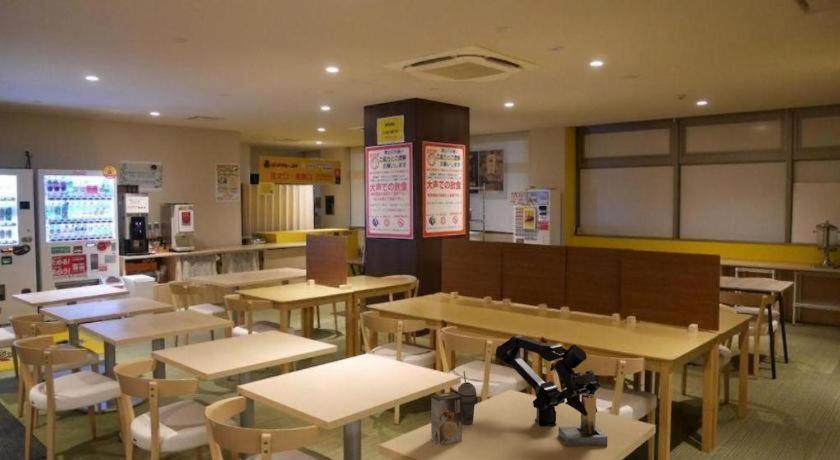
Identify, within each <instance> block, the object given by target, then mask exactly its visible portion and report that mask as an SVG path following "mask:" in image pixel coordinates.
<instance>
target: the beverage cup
mask: <svg viewBox="0 0 840 460" xmlns="http://www.w3.org/2000/svg"><path fill="white" fill-rule="evenodd" d="M462 373H463V381H464V382H463V383H461V384H460V385H459V387H458V390H457V394H458V395H460V396H462V426H465V427H466V426H467V427H468V426H472V425H473V422H474V417H475V407H476V406H475V405H476V403H475V402H476V399H477V398H476V397H477V394H478V393H477V390H476V387H475V385H473V383H471V382H469V381H468V382H467V378H466V371H465V370H464V371H463V372H462Z"/></svg>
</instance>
